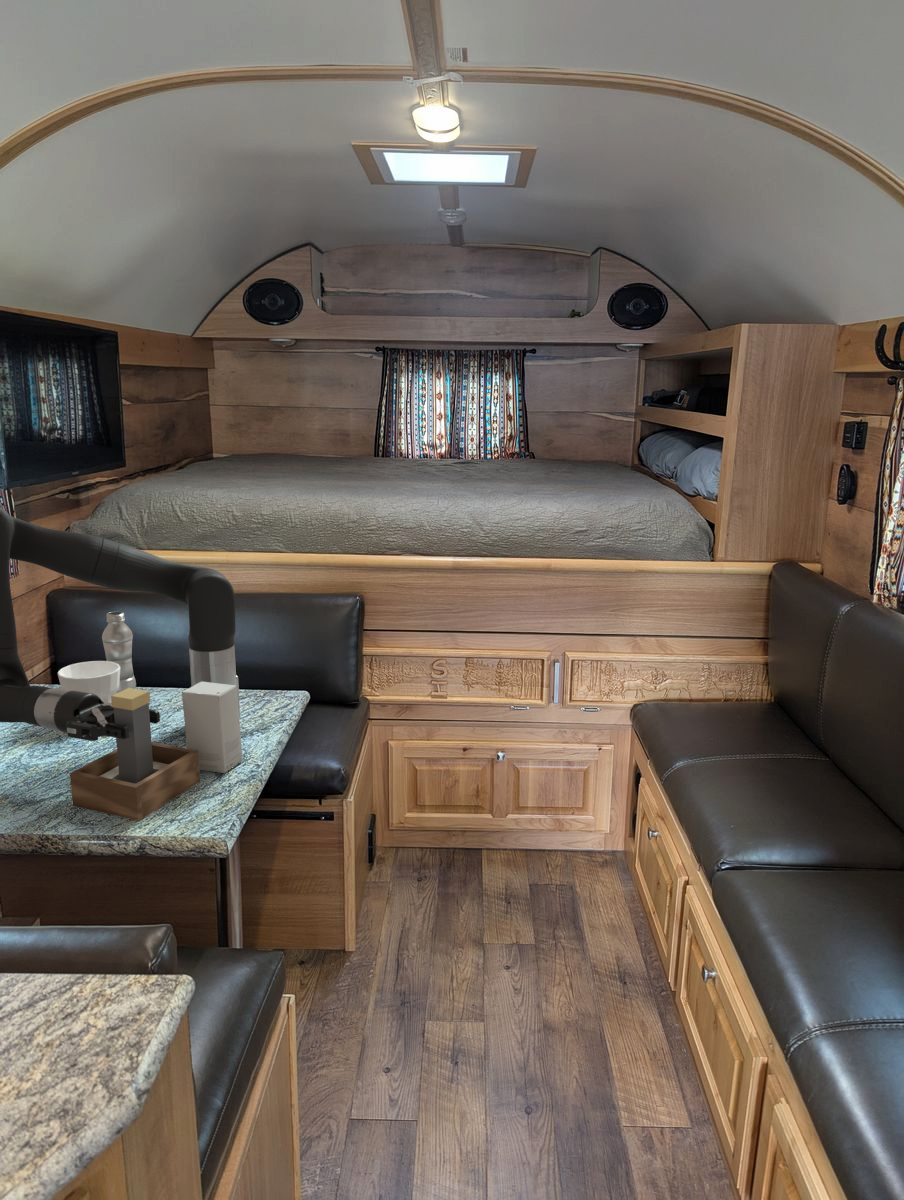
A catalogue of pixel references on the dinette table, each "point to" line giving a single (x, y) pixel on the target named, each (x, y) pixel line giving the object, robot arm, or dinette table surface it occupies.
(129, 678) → the plastic bottle
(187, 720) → the skincare box
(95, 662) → the cup
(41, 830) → the dinette table surface
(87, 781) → the walnut box
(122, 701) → the grey plug
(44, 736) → the dinette table surface
